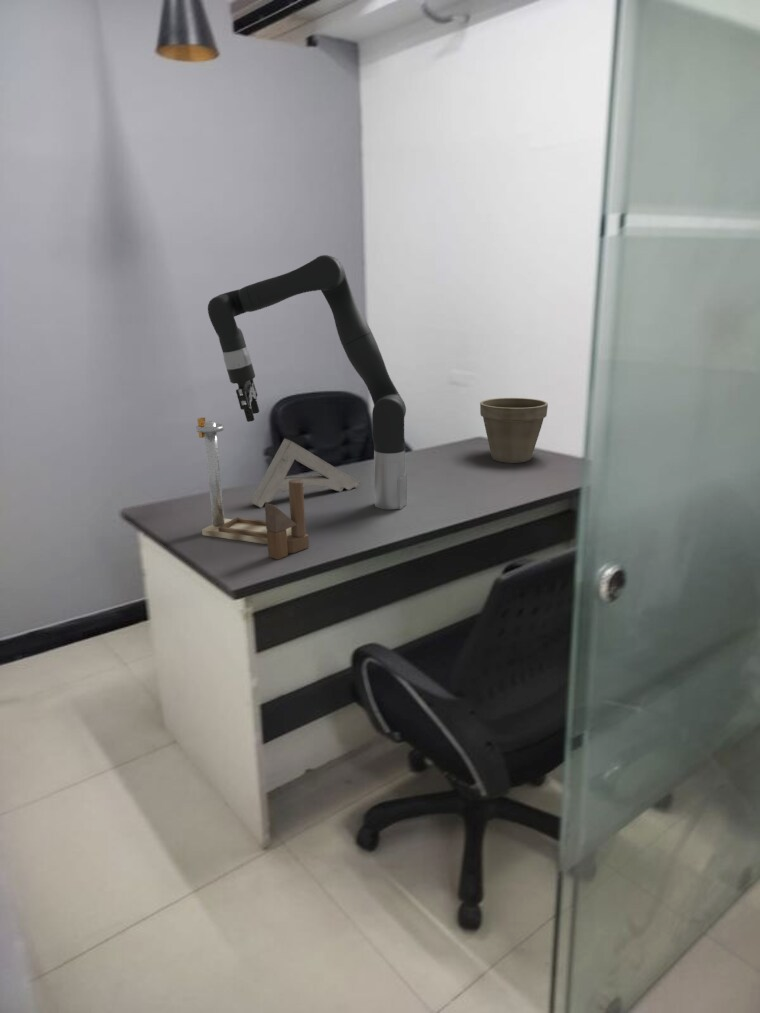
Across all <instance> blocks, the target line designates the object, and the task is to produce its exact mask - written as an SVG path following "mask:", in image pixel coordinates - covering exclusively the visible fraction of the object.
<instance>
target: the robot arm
mask: <svg viewBox="0 0 760 1013" xmlns="http://www.w3.org/2000/svg"><path fill="white" fill-rule="evenodd" d="M316 291H321V293H322V294H323V296H324V298H325V300H326V302H327V303H328V306H329V308H330V310H331V313H332V316H333V319H334V325H335V328H336V332H337V335H338V337H339V341H340V344H341V346H342V348H343V350H344V352H345V355H346V357H347V358H348V361H349V362H350V364H351V366H352V367H353V369H354V370H355V372H356V373H357V374H358V376H359V377H360V378H361V379H362V381H363V382H364V384H365V386H366V387H367V390H368V392H369V395H370V397H371V399H372V403H373V407H372V413H371V415H372V416H371V420H372V421H371V422H372V424H371V425H372V442H373V453H374V454H373V465H374V467H373V468H374V470H373V472H374V473H373V474H374V482H373V483H374V499H373V500H374V506H375V507H376V508H378V509H381V510H401V509H403V508H404V507H405V506H406V505H407V504H408V474H407V473H406V441H405V440H406V439H405V417H406V413H407V407H406V404H405V400H404V399H403V398H402V397H401V395H400V393H399V392H398V390H397V388H396V386H395V384H394V382H393V381H392V379H391V377H390V375H389V373H388V369H387V367H386V364H385V361H384V359H383V356H382V353H381V351H380V349H379V345H378V343H377V340H376V338H375V337H374V334H373V332H372V329H371V328H370V326H369V323H368V322H367V319H366V318H365V316H364V314H363V313H362V311H361V309H360V307H359V305H358V303H357V301H356V299H355V297H354V295H353V292H352V290H351V287H350V283H349V281H348V278H347V274H346V271H345V268H344V266H343V263H341V261H340V260H339V259H338V258H336V257H334V256H332V255H328V254H326V255H325V254H323V255H319V256H317V257H315V258H314V259H313V260H311V261H309V262H307V263H305V264H303V265H301V266H300V267H298V268H296V269H293V270H292V271H289V272H285V273H284V274H281V275H278V276H273V277H270V278H267V279H264V280H260V281H258V282H255V283H252V284H248V285H246V286H244V287H242V288H240V289H236V290H231V291H227V292H225V293H221V294H218V295H217V296H214V297H212V298H211V299H210V301H209V302H208V304H207V314H208V317H209V319H210V323H211V325H212V328H213V329H214V331H215V333H216V335H217V337H218V340H219V341H218V342H219V345H220V347H221V350H222V356H223V361H224V364H225V368H226V371H227V374H228V378H229V382H230V383H231V384H234V385H235V384H236V385H238V388H237V389H235V393H236V395H237V396H236V397H237V400H238V403H239V407H240V411H241V410H242V411H244V412H243V413H244V416H245V419H246V422H249V423H250V422H253V421H255V416H254V414H258V413H260V408H259V404H258V401H257V400H258V398H257V397H258V392H257V389H256V386H255V383H254V378H255V377H256V374H255V369H254V366H253V363H252V362H253V361H252V359H251V355H250V353H249V350H248V348H247V345H246V341H245V338H244V334H243V331H242V330H241V328H239V327H238V325H237V322H236V319H235V317H237V316H240V315H242V314H245V313H251V312H256V311H259V310H262V309H266V308H268V307H270V306H271V307H272V306H274V305H276V304H278V303H280V302H282V301H285V300H287V299H289V298H292V297H295V296H298V295H300V294H305V293H310V292H316Z"/></svg>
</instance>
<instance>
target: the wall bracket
mask: <svg viewBox="0 0 760 1013" xmlns="http://www.w3.org/2000/svg"><path fill="white" fill-rule="evenodd" d="M295 461H296V462H298V463H300V464H302V465H303V466H305V467H307V468H309V469H310V470H312V471H313V472H315V473H317V474H318V475H291V476H290V475H289V476H287V475H288V473H289V471H290V469H291V467H292V465H293V464H294V462H295ZM295 479H299V480H302V481H303V488H307V487H320V488H328V489H331V490H334V491H336V492H339V493H342V492H343V491H344V489H345V490H347V491H351V490H352V489H353V488H359V486H360V484H361V482H360V481H358V480H357V479H355V478H354V477H352V476H350V475H349V474H346V473H345V472H344V471H341V470H340V469H338V468H336V467H335V466H333V465H332V464H330V463H329V462H327V461H325V460H323V459H322V458H320V457H319V456H317V455H315V454H313V453H312V452H311V451H309V450H307V449H306V448H304V447H302V446H300V445H299V444H298V443H296V442H293V440H290V439H287V438H285V437H284V439H283V440H282V442H281V444H280V445H279V447H278V449H277V451H276V453H275V455H274V457H273V459H272V461H271V462H270V465H268V468H267V470H266V471H265V473H264V475H263V477H262V479H261V481H260V483H259V484H258V486H257V488H256V490H255V492H254V494H253V496H252V497H251V499H250V500H249V501H250V503H251V504H253V505H255V506H256V507H258V508H260V509H262V508H263V507H264V506H265V503H268V504H270V503H271V502H272V501H273V500H274V498H275V497H276V495H277V493H278V491H281V492H283V493H284V492H289V481H290V480H295Z"/></svg>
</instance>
